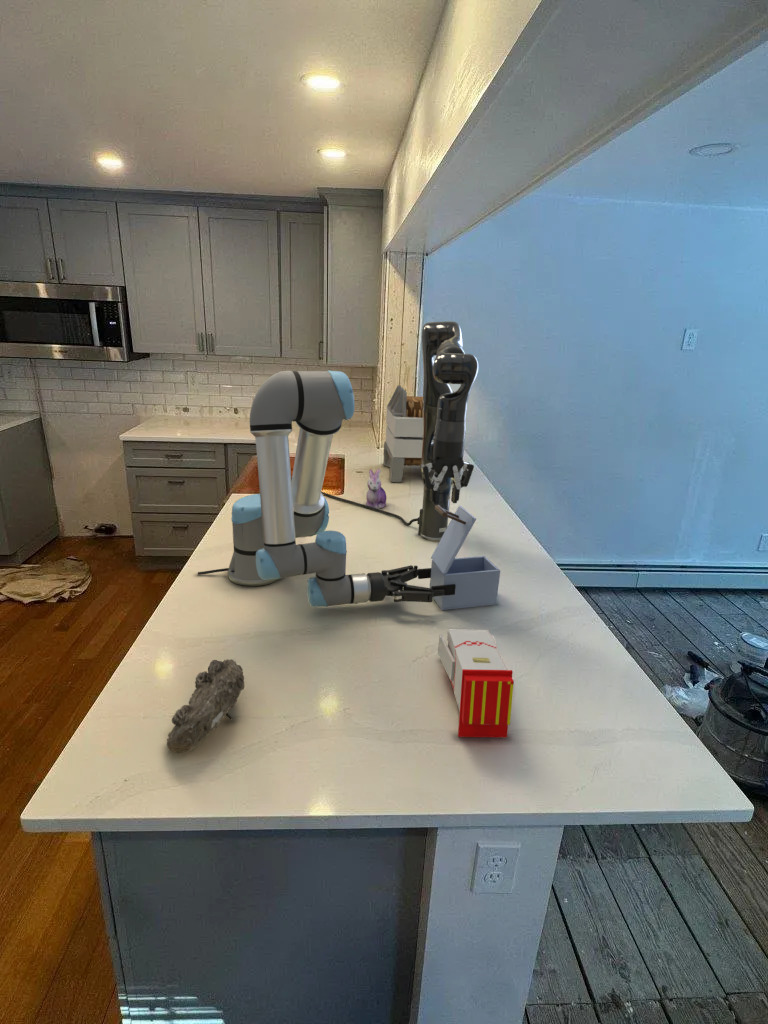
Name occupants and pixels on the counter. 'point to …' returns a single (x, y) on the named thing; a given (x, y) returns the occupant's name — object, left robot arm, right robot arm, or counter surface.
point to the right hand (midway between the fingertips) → (444, 502)
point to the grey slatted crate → (403, 433)
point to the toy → (478, 682)
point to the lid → (452, 536)
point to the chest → (467, 582)
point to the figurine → (375, 491)
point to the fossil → (206, 705)
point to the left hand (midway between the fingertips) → (447, 580)
